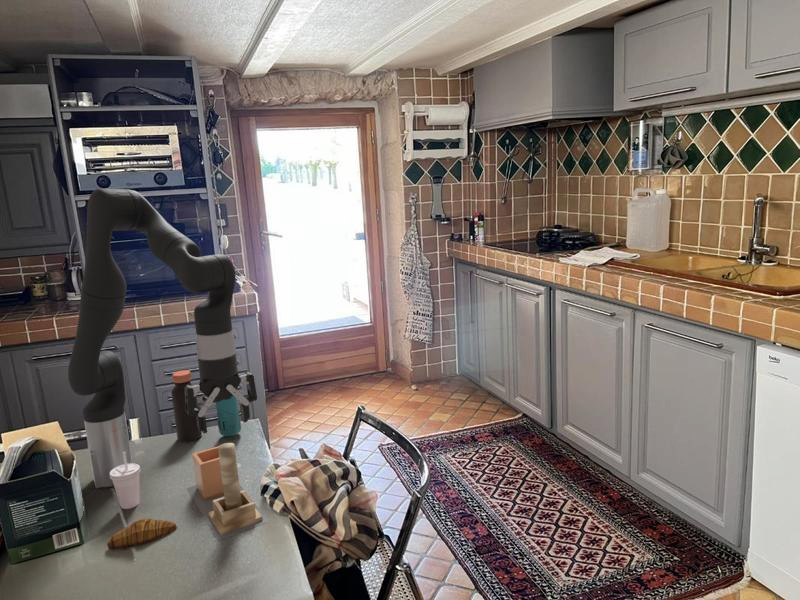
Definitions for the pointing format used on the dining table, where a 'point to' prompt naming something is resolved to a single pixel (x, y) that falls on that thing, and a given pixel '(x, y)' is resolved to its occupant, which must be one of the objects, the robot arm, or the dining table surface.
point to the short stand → (234, 514)
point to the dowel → (229, 476)
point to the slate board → (207, 507)
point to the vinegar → (184, 409)
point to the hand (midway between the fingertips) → (224, 426)
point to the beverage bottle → (228, 416)
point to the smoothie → (126, 483)
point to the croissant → (140, 533)
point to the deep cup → (208, 473)
